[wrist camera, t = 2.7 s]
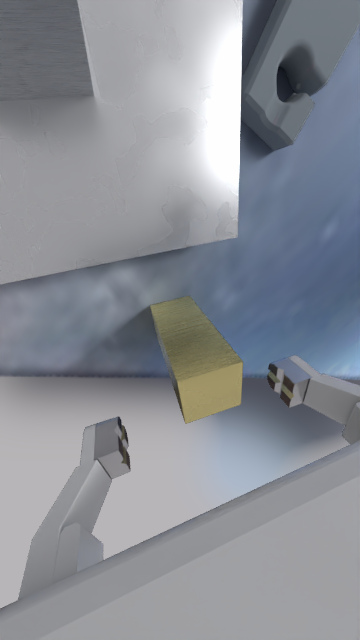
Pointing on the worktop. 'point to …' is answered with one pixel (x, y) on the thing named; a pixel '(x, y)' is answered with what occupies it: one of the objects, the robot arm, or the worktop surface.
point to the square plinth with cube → (116, 130)
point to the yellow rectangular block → (197, 359)
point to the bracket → (294, 64)
